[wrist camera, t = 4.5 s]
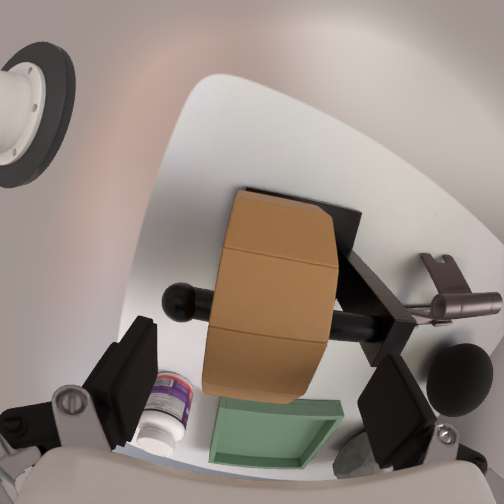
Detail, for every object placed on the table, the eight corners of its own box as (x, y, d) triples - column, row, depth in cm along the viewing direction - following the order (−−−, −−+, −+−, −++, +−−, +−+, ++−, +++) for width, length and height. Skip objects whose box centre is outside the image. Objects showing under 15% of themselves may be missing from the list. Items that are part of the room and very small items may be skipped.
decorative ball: (461, 316, 27) (503, 360, 17) (474, 349, 29) (507, 389, 19) (405, 367, 29) (436, 422, 20) (427, 392, 31) (452, 437, 22)
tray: (210, 449, 35) (208, 462, 33) (221, 390, 30) (219, 407, 27) (301, 456, 36) (303, 469, 34) (340, 400, 31) (344, 416, 28)
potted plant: (394, 419, 28) (442, 446, 27) (344, 418, 39) (393, 445, 38) (353, 494, 22) (411, 509, 21) (309, 475, 33) (365, 496, 31)
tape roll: (218, 318, 22) (196, 429, 12) (242, 183, 18) (224, 215, 8) (272, 327, 22) (281, 439, 12) (306, 196, 19) (364, 243, 8)
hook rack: (195, 286, 25) (155, 382, 14) (210, 179, 22) (161, 204, 10) (329, 309, 26) (368, 405, 14) (359, 210, 23) (442, 262, 11)
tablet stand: (385, 319, 26) (418, 369, 19) (404, 251, 24) (452, 288, 16) (442, 316, 27) (479, 356, 19) (462, 256, 24) (509, 287, 16)
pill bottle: (183, 404, 31) (168, 463, 22) (147, 385, 30) (124, 443, 21) (202, 384, 30) (188, 450, 21) (162, 364, 29) (137, 427, 20)
